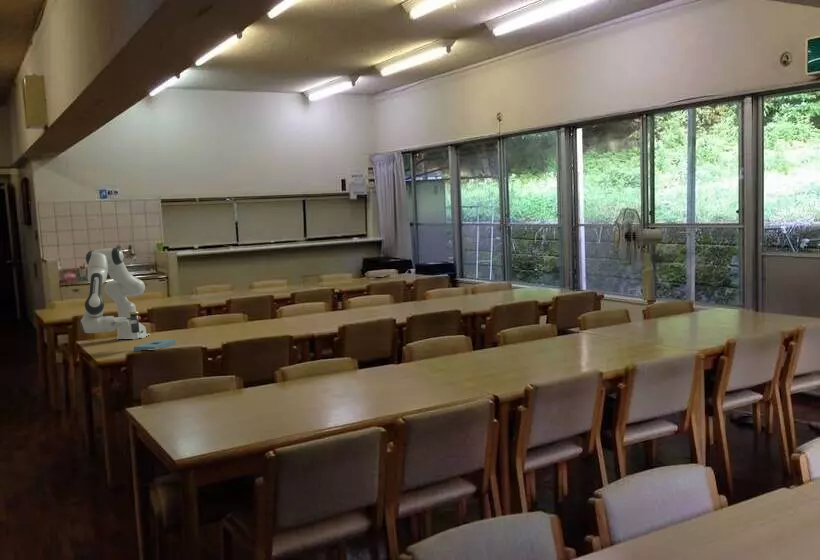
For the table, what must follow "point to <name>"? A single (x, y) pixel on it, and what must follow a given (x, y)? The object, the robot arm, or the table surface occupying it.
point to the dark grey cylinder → (136, 325)
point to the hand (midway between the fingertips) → (136, 320)
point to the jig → (155, 345)
